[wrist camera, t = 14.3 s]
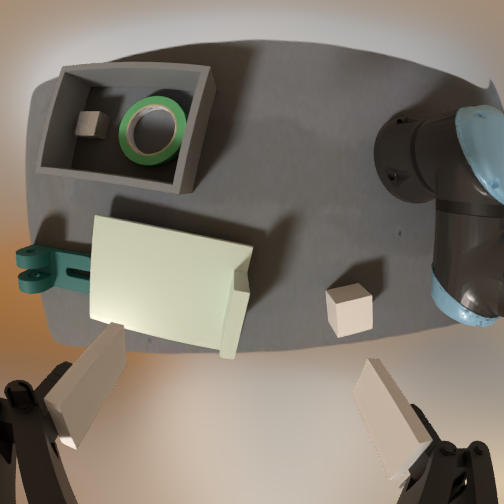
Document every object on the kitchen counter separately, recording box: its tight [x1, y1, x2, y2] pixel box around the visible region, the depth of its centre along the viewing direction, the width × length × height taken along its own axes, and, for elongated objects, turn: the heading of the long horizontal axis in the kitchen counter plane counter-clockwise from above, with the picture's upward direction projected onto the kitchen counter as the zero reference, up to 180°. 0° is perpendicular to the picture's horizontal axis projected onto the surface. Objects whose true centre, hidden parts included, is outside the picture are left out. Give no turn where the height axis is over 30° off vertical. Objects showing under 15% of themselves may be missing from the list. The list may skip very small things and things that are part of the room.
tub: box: [35, 62, 217, 194], centre depth 35 cm, size 24×17×9 cm
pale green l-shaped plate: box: [90, 214, 253, 359], centre depth 39 cm, size 25×18×11 cm
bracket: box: [16, 244, 91, 294], centre depth 40 cm, size 18×7×8 cm, turn 82°
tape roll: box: [119, 96, 188, 166], centre depth 38 cm, size 11×11×3 cm
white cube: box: [326, 283, 372, 338], centre depth 44 cm, size 6×6×6 cm
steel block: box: [75, 111, 110, 139], centre depth 37 cm, size 4×4×4 cm
